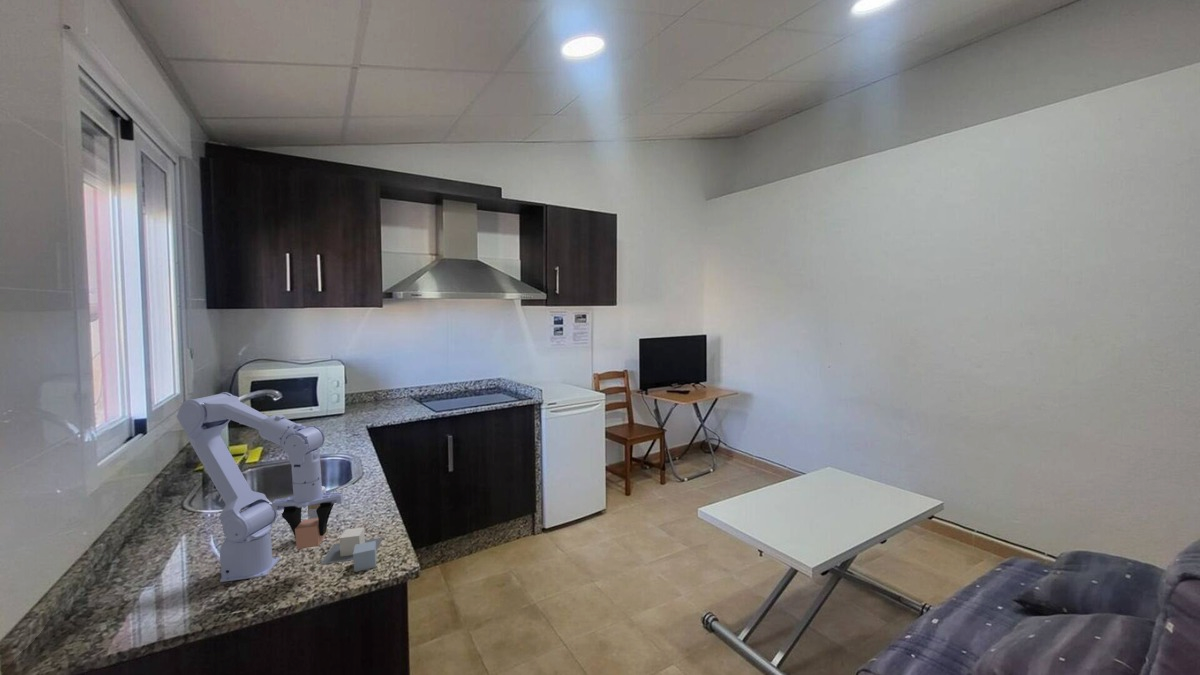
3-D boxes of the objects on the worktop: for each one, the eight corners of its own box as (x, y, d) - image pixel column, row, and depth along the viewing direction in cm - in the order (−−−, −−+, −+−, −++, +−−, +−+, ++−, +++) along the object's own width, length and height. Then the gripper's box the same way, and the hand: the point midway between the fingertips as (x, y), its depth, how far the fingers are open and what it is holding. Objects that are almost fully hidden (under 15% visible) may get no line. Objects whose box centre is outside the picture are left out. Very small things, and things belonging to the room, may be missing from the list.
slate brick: (354, 573, 110) (353, 553, 110) (356, 563, 114) (355, 544, 114) (375, 568, 112) (374, 549, 111) (376, 559, 116) (375, 540, 116)
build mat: (320, 565, 113) (320, 564, 113) (334, 545, 123) (334, 544, 123) (373, 558, 116) (373, 557, 116) (382, 539, 126) (382, 537, 126)
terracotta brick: (296, 549, 107) (294, 529, 107) (304, 539, 112) (302, 520, 111) (318, 545, 108) (316, 526, 108) (325, 536, 113) (323, 517, 112)
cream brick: (340, 556, 117) (339, 538, 116) (346, 547, 121) (345, 529, 121) (360, 553, 118) (359, 535, 117) (365, 544, 122) (364, 527, 122)
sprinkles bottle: (314, 532, 131) (311, 485, 130) (331, 531, 131) (328, 484, 130) (305, 540, 126) (302, 492, 125) (323, 539, 127) (320, 491, 126)
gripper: (263, 489, 103) (268, 547, 104) (335, 482, 106) (338, 539, 107) (278, 477, 110) (282, 532, 111) (344, 471, 113) (348, 525, 114)
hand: (310, 535), depth 110 cm, fingers closed on terracotta brick, 5 cm apart
